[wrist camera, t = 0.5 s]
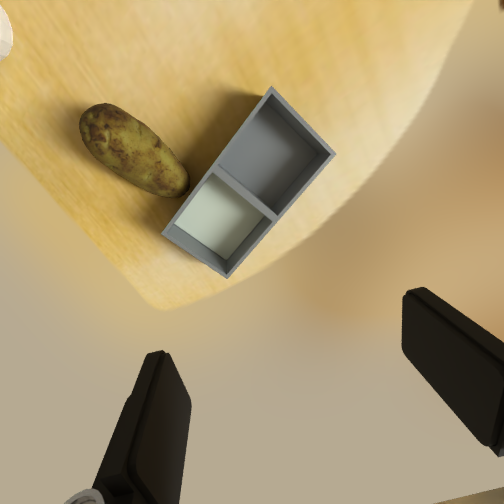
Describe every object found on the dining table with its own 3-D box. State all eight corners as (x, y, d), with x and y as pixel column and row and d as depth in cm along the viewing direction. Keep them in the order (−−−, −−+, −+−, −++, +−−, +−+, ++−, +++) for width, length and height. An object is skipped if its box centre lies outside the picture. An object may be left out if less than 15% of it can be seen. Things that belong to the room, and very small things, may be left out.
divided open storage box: (263, 96, 34) (271, 85, 28) (320, 153, 37) (336, 153, 32) (170, 222, 39) (160, 233, 33) (227, 262, 42) (227, 279, 37)
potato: (150, 212, 38) (132, 227, 31) (91, 127, 33) (52, 120, 26) (198, 185, 37) (192, 193, 30) (144, 94, 32) (120, 77, 25)
